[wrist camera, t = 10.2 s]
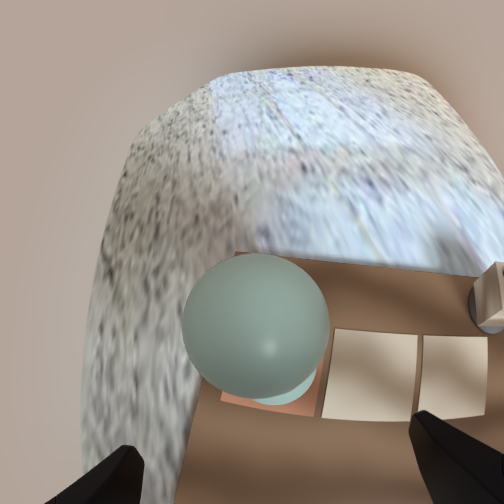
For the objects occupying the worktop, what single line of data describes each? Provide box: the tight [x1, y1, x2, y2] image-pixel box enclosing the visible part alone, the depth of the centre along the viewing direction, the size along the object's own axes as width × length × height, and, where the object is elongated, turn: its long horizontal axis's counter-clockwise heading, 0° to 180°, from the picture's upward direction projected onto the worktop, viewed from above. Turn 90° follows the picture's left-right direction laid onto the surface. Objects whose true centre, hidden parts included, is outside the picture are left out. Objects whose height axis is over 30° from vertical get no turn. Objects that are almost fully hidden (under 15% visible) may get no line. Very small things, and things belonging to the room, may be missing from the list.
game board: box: [174, 252, 504, 504], centre depth 14 cm, size 20×24×5 cm
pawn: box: [182, 253, 330, 405], centre depth 12 cm, size 5×5×12 cm
